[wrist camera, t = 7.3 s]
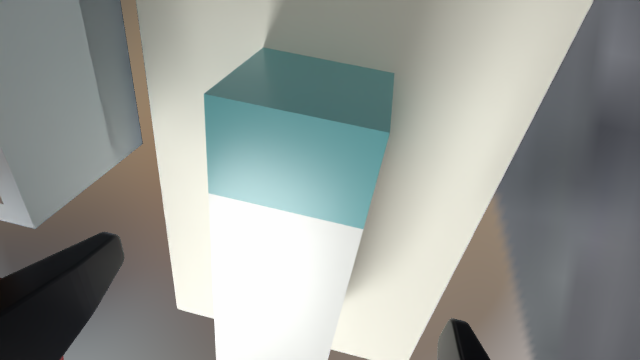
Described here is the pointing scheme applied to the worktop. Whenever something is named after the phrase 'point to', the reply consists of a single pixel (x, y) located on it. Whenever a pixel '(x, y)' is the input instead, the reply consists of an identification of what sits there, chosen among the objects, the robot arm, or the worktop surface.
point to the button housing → (61, 102)
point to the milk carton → (289, 197)
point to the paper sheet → (403, 143)
